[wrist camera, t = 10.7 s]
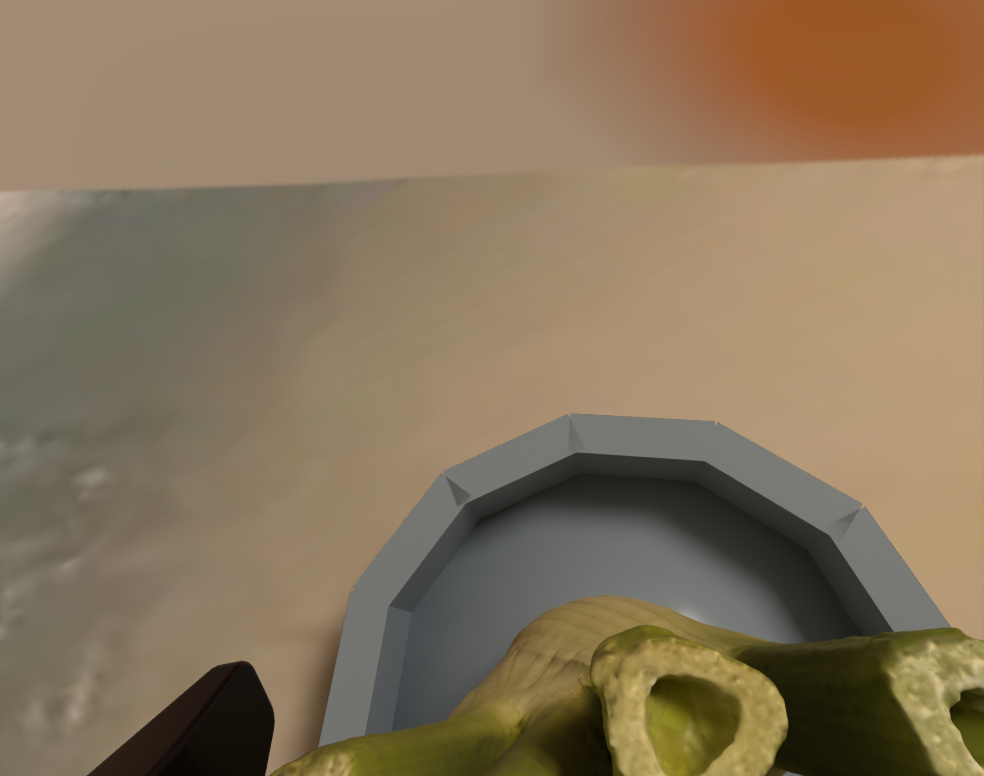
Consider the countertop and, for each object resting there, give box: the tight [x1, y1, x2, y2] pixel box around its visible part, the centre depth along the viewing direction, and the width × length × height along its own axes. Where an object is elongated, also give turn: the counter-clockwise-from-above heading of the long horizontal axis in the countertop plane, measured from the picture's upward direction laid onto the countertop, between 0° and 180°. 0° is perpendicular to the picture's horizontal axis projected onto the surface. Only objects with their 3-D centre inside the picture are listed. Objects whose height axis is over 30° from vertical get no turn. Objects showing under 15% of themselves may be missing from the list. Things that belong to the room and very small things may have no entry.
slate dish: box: [318, 413, 951, 776], centre depth 14 cm, size 13×13×3 cm
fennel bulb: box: [270, 595, 984, 776], centre depth 9 cm, size 6×5×12 cm
